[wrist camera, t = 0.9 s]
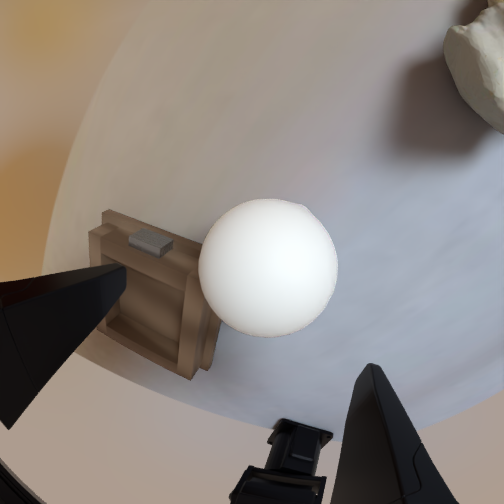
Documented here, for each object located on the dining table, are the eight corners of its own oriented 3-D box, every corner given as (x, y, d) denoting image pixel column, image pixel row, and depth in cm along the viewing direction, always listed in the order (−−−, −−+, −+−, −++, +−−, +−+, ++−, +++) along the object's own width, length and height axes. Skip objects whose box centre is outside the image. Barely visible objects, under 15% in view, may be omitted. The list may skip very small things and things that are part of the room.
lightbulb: (241, 189, 20) (147, 248, 11) (324, 162, 18) (301, 197, 8) (271, 267, 22) (211, 370, 12) (351, 247, 20) (349, 357, 10)
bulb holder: (211, 364, 29) (197, 388, 25) (111, 314, 31) (92, 331, 28) (236, 255, 23) (218, 276, 20) (109, 208, 25) (82, 219, 22)
